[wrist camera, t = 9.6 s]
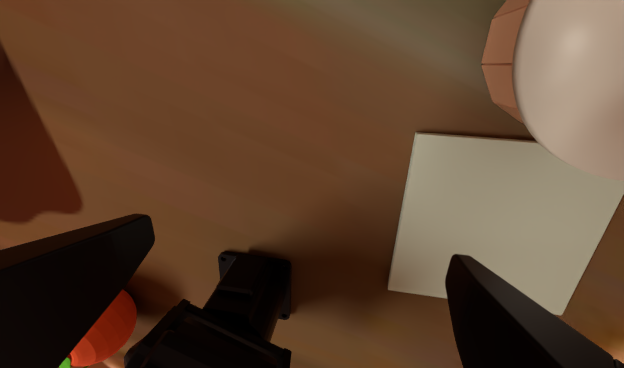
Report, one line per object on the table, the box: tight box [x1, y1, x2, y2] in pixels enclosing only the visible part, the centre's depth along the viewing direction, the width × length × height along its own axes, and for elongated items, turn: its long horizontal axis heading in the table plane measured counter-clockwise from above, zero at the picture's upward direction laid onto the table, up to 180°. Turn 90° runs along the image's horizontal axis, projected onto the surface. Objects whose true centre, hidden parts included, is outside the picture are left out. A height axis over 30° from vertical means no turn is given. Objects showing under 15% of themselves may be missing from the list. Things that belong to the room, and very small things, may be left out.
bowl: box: [481, 0, 530, 124], centre depth 13 cm, size 9×9×6 cm
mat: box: [388, 132, 624, 315], centre depth 21 cm, size 13×13×1 cm
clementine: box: [59, 289, 137, 368], centre depth 27 cm, size 8×7×7 cm
